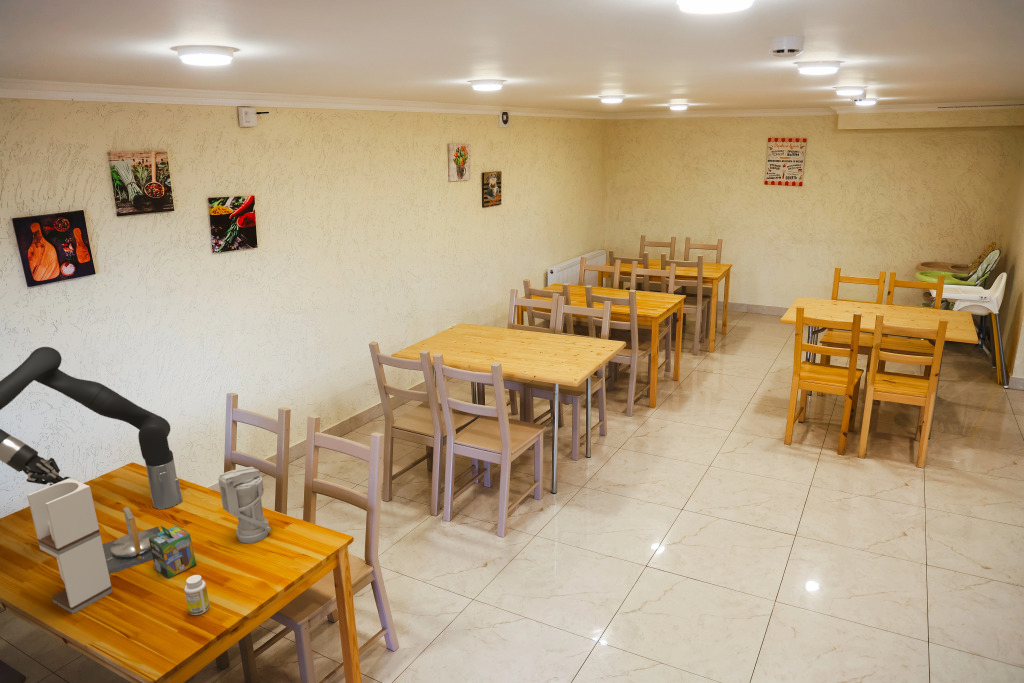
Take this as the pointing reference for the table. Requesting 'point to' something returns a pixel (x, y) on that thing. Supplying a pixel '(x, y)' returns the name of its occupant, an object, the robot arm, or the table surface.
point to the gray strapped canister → (245, 502)
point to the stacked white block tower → (72, 541)
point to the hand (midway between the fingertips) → (65, 485)
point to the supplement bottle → (196, 595)
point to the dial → (131, 539)
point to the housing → (125, 562)
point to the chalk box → (172, 551)
